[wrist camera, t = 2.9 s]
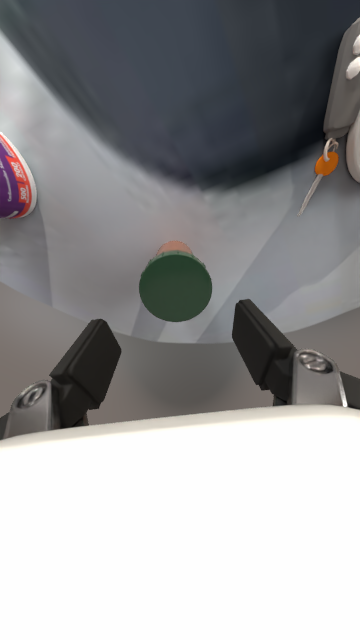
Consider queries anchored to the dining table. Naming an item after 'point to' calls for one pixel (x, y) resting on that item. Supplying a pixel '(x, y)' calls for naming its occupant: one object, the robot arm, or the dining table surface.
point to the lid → (175, 286)
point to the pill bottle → (15, 183)
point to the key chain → (340, 102)
